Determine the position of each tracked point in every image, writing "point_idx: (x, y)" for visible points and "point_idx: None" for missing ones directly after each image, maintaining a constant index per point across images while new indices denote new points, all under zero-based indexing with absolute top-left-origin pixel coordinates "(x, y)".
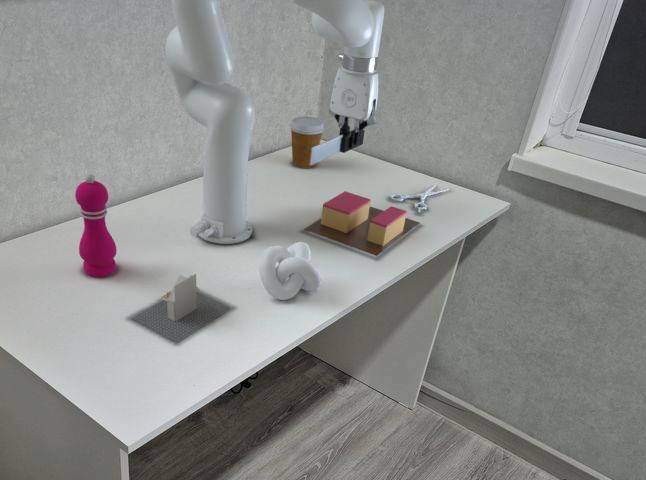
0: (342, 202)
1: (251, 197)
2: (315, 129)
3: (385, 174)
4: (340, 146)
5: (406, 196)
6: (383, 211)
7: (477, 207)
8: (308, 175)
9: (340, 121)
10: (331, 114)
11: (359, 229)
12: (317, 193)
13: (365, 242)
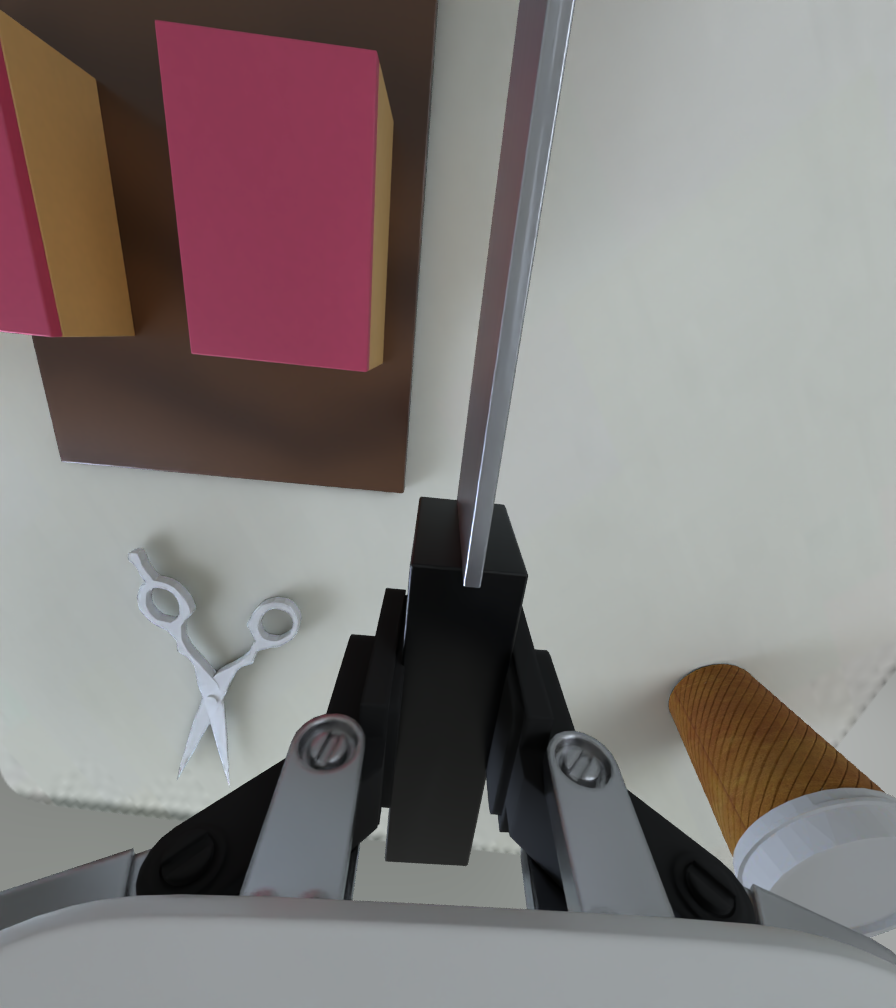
0: (288, 180)
1: (841, 253)
2: (781, 843)
3: None
4: (460, 506)
5: (251, 648)
6: (24, 220)
7: (40, 714)
8: (661, 624)
9: (608, 815)
10: (822, 919)
11: None
12: (565, 493)
13: (86, 45)
